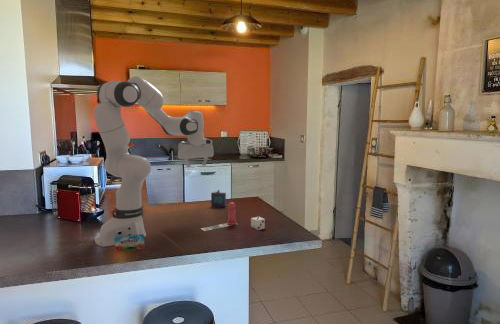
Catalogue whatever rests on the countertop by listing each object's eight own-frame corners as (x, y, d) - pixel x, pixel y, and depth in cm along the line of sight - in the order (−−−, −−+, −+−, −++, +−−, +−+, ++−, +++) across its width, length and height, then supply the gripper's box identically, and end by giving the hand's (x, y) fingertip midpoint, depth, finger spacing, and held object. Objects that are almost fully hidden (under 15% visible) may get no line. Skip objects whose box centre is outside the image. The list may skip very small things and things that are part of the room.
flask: (226, 206, 222) (226, 189, 221) (225, 207, 219) (225, 190, 218) (211, 205, 223) (211, 189, 221) (210, 207, 220) (210, 190, 218)
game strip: (206, 235, 168) (206, 233, 168) (194, 228, 178) (194, 227, 178) (244, 227, 181) (244, 225, 181) (231, 221, 190) (231, 219, 190)
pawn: (230, 225, 180) (230, 203, 179) (225, 223, 184) (225, 202, 182) (238, 223, 183) (237, 202, 181) (233, 221, 187) (232, 200, 185)
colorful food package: (115, 252, 148) (114, 237, 147) (115, 250, 149) (114, 236, 148) (144, 248, 152) (144, 235, 151) (144, 247, 153) (144, 233, 152)
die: (256, 230, 176) (256, 220, 175) (250, 227, 180) (250, 217, 179) (264, 228, 179) (264, 218, 178) (258, 225, 183) (258, 216, 182)
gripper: (180, 142, 183) (181, 168, 185) (214, 140, 195) (215, 165, 197) (175, 141, 188) (176, 167, 190) (209, 139, 200) (209, 164, 202)
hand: (196, 166), depth 193 cm, fingers open, 8 cm apart
